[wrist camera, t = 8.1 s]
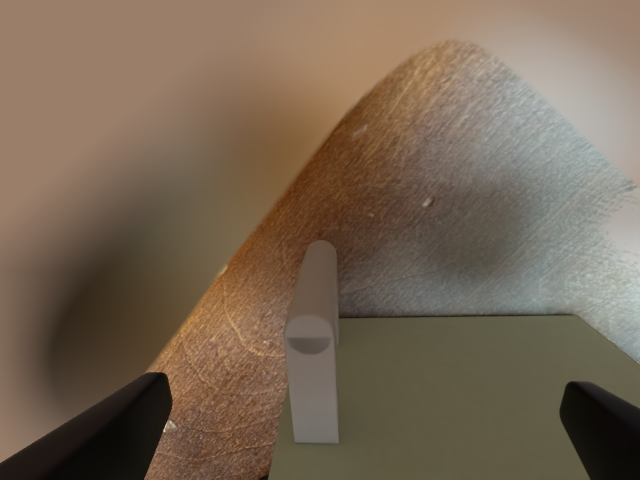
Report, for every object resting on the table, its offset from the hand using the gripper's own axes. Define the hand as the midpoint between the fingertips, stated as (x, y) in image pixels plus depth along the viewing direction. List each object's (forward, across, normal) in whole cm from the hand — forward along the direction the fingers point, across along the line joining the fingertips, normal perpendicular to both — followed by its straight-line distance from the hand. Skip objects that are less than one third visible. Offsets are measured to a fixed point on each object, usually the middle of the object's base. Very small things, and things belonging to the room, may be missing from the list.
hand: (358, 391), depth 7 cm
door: (+11, -5, +3) cm, 12 cm away
